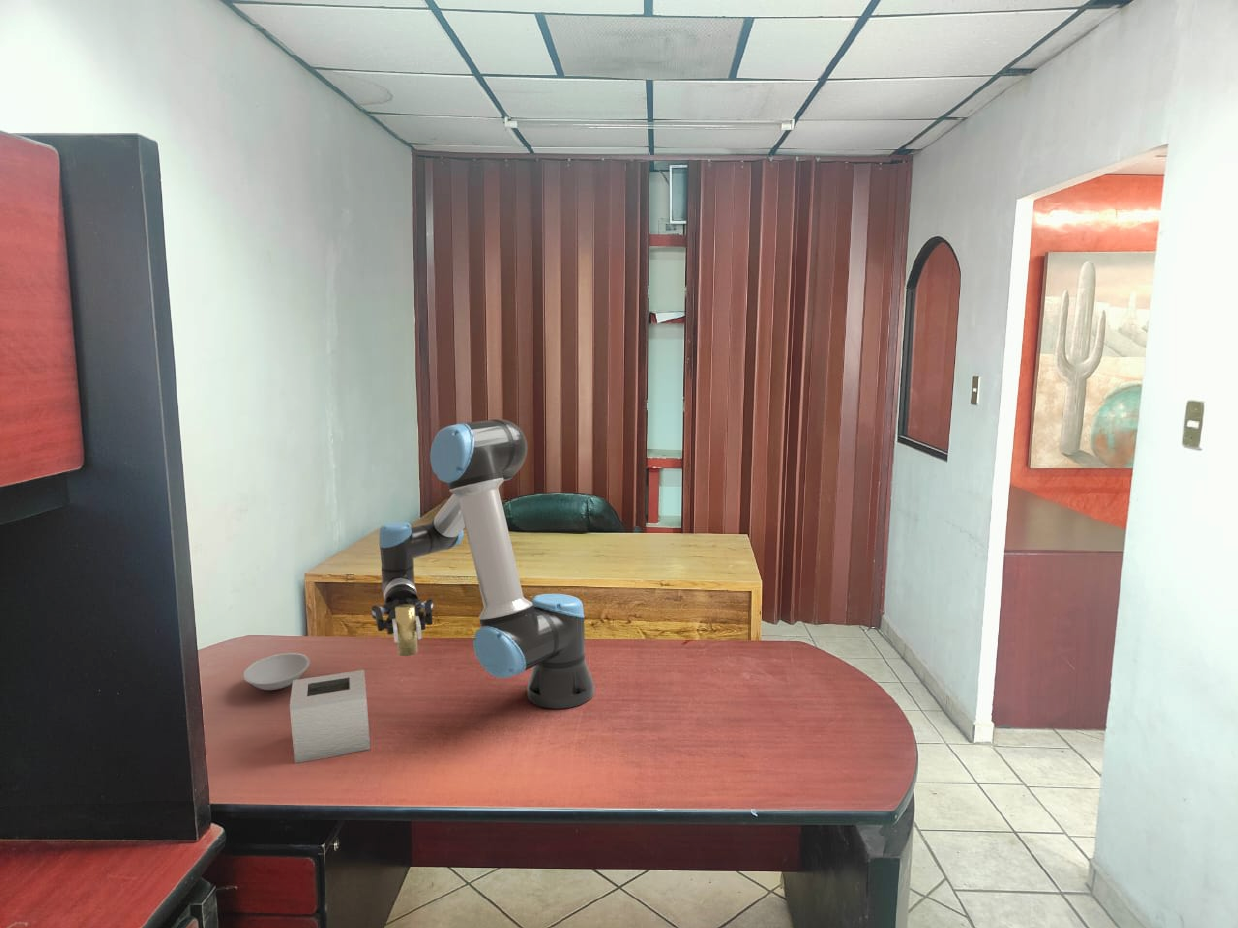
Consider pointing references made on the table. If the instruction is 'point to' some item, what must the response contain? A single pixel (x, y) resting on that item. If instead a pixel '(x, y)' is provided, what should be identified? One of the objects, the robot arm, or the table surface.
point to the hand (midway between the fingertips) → (407, 634)
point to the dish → (276, 670)
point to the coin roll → (406, 630)
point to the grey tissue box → (329, 716)
